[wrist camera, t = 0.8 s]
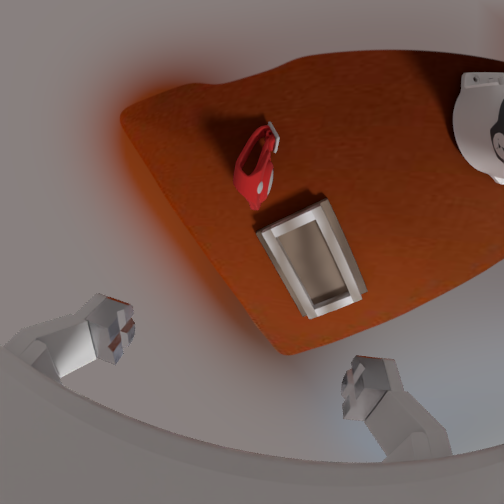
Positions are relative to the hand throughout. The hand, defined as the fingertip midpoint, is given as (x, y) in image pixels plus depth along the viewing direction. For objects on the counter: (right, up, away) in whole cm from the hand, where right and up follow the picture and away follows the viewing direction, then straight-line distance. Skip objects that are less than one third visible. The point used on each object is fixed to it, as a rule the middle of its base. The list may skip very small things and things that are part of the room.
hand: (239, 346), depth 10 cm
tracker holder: (+2, +16, +32) cm, 36 cm away
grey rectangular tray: (+10, +2, +36) cm, 38 cm away
